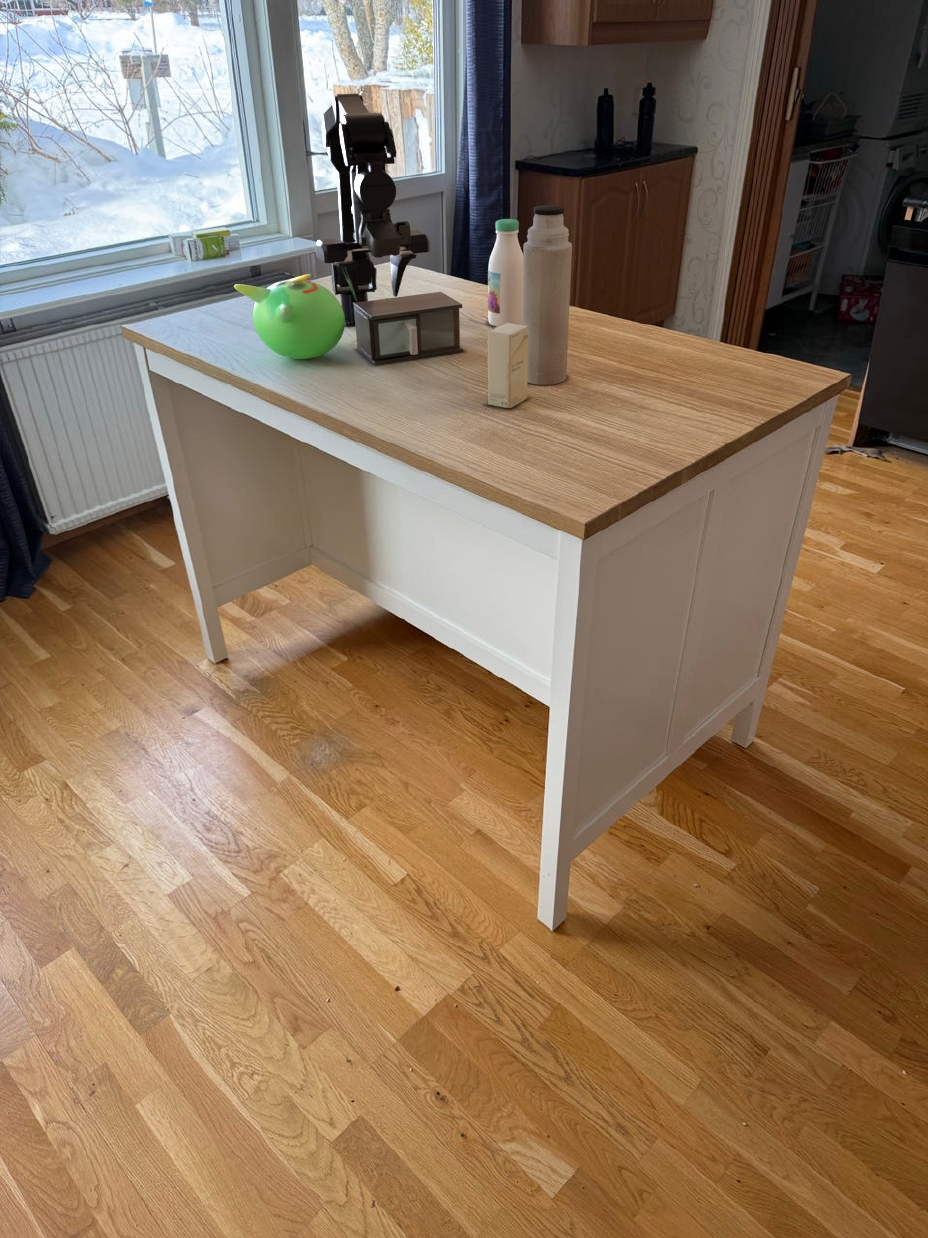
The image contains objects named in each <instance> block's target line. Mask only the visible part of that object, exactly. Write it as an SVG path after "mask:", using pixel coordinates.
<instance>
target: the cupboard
mask: <svg viewBox="0 0 928 1238" xmlns="http://www.w3.org/2000/svg"><path fill="white" fill-rule="evenodd" d="M353 304H354V315H355V325H354V326H355V337H356V349H357V351H358V352H359V353H360V354H361V355H362V356H364V358H366V359H367V360H368V361H369V362H370V363H371V364H372V365H373V366H382V365H388V364H394V363H395V364H396V363H400V362H401V363H402V362H407V361H408V362H409V361H414V360H421V359H426V358H432V357H433V358H434V357H440V356H447V355H453V354H460V353H464V348H463V347H461V341H460V340H461V337H460V336H461V334H460V332H461V331H460V328H461V327H460V309H463V303H461V302H459V301H457V300H456V299H454V298H453V297H451V296H449V295H448V294H446V293H445V292H443V291H437V292H436V291H435V292H427V293H419V294H413V295H411V294H410V295H405V296H397V297H389V298H380V299H374V300H373V299H372V300H368V301H365V302H357V303H353ZM415 314H419V315H420V329H421V351H422V352H421V353H418V354H416V355H411V354H408V355H401V356H394V357H388V358H381V359H376V357H375V344H374V330H373V320H378V319H386V318H393V317H400V316H408V315H415Z"/></svg>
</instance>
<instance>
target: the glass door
mask: <svg viewBox="0 0 928 1238" xmlns="http://www.w3.org/2000/svg"><path fill="white" fill-rule="evenodd" d="M373 330H374V344H375V357H376V359H381V358H388V357H394V356H401V355H408V354H411V355H416V354H418V353H421V352H422V351H421V329H420V315H419V314H415V315H408V316H400V317H393V318H386V319H378V320H373Z"/></svg>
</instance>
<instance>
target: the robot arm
mask: <svg viewBox="0 0 928 1238" xmlns="http://www.w3.org/2000/svg"><path fill="white" fill-rule="evenodd" d="M321 124H322V125H321V131H322V132H321V134H322V143H323V147H324V149H326V151H327V154H328V157H329V161H330V162H331V164H332V166H333V167H334V169H335V170H336V179H337V180H336V182H337V183H336V184H337V196H338V213H339V214H338V215H339V231H340V238H338V237H334V238H323V239H318V240H317V241H316V243H315V246H314V247H315V257H316V258H317V259H318V260H319V261H321V262H322V263H324V264H331V286H332V293H333V295H334V296H338V295H340V305H341V307H342V309H343V312H344V317H345V327H349V326H350V327H351V326H355V315H354V304H353V303H357V302H365V301H369V297H368V296H369V295H368V294H369V293H375V291H377V290H378V289H377V288H378V287H377V272H378V271H377V268H376V267H375V265H374V262H373V260H371V258H370V257H371V256H372V257H373V258H376V259H380V258H383V257H386V256H387V257H389V258H390V259H389V261H390V277H391V291H392V296H393V297H394V298H396V297H399V296H398V295H399V292H400V287H401V284H402V281H403V277H404V274H405V271H406V269H407V266H408V265H409V263H410V262H411V261H412V260H414V259H415V260H416V258H417V254H424V253H429V252H430V251H431V247H430V246H431V245H430V244H431V243H430V237H429V236H428V235H427V234H426V233H424V232H421V231H420V230H418V229H412V230H411V225H410V223H409V221H408V220H403V221H396V222H394V223H393V221H392V218H391V209H390V207H391V206H392V205H393V203H394V202H395V199H396V197H397V187H396V184H395V181H394V179H393V178H392V176H391V175H390V174H389V173H387V170H386V165H394V164H395V162H396V160H395V158H397V148H396V143H395V137H394V133H393V129H392V128H391V127H390V123H389V121H386V120H385V116H384V115H383V114H382V113H380V112H370V111H369V110H368V108H367V107H366V105H365V104H364V98H363V95H362V94H358V93H337V94H336V95H333V96H332V104H331V105H330V107H329V108H328V109H327V110H326V111H325V112H324V113H323V114H322V121H321ZM370 255H371V256H370Z"/></svg>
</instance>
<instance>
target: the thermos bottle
mask: <svg viewBox="0 0 928 1238" xmlns="http://www.w3.org/2000/svg"><path fill="white" fill-rule="evenodd" d="M564 213H565V207H563V206H560V205H549V204H547V205H538V206H535V207H533V214H534V216H533V224H532V226H530V227H529V228H528V230H527V235H526V238H527V241H526V242H524V243H523V251H522V253H523V311H522V324H521V325H527V326H528V382H527V384H528V383H529V384H533V385H540V386H541V385H542V386H544V385H545V386H546V385H547V386H549V385H555V384H560V383H562V382H564V381H565V380H566V379H567V372H568V349H569V348H568V346H569V345H568V344H569V326H570V325H569V324H570V301H571V282H572V281H571V280H572V277H571V276H572V259H573V258H572V257H573V255H572V253H573V244H572V243H571V242H570V241H569V236H570V233H569V228H568V227H567V226H565V225H564V219H565V218H564Z"/></svg>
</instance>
